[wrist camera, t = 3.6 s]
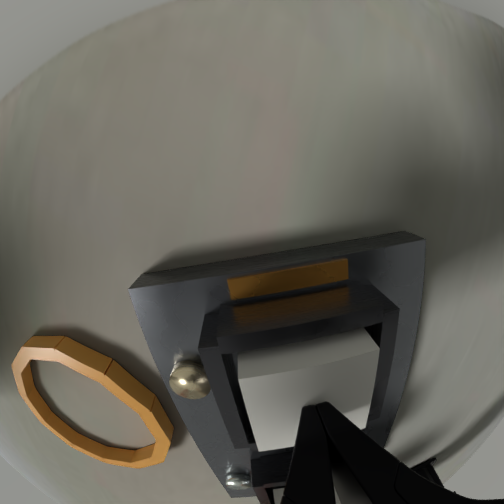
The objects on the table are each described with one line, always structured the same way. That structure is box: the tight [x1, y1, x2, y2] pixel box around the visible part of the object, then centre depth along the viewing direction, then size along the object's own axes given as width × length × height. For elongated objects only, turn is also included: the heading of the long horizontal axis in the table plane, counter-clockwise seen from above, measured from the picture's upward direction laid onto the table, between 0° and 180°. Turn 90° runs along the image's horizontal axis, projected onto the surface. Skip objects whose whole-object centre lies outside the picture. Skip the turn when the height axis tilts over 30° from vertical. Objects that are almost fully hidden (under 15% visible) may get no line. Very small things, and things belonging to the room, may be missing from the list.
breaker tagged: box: [238, 327, 380, 452], centre depth 8 cm, size 4×4×2 cm
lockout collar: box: [12, 336, 174, 468], centre depth 12 cm, size 11×11×1 cm
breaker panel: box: [128, 231, 426, 504], centre depth 11 cm, size 11×18×4 cm, turn 9°
